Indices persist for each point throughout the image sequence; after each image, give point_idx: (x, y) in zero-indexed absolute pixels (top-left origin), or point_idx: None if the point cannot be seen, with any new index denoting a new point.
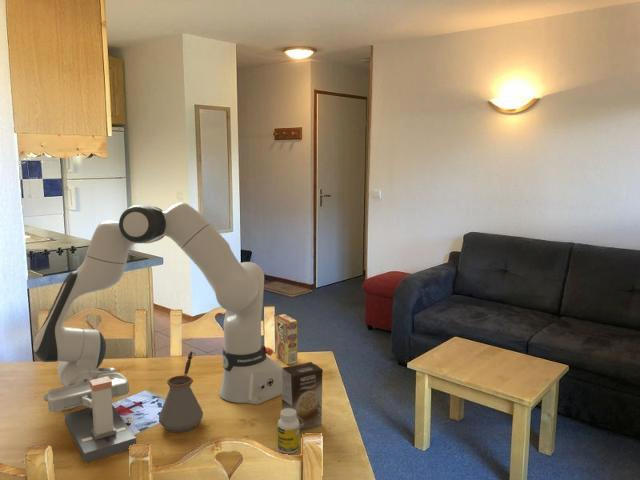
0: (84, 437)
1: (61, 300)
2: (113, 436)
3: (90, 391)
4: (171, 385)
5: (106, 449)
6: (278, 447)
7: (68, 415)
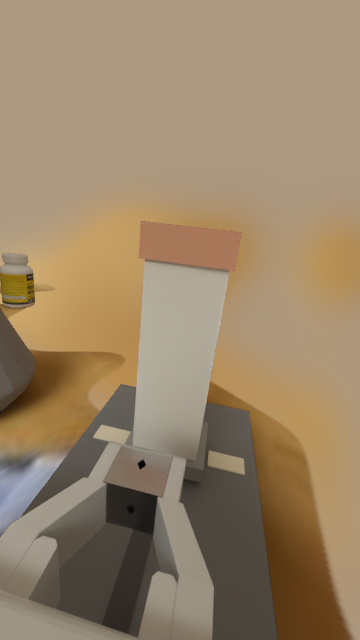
0: (231, 483)
1: None
2: None
3: (79, 623)
4: None
5: None
6: (29, 302)
7: None
